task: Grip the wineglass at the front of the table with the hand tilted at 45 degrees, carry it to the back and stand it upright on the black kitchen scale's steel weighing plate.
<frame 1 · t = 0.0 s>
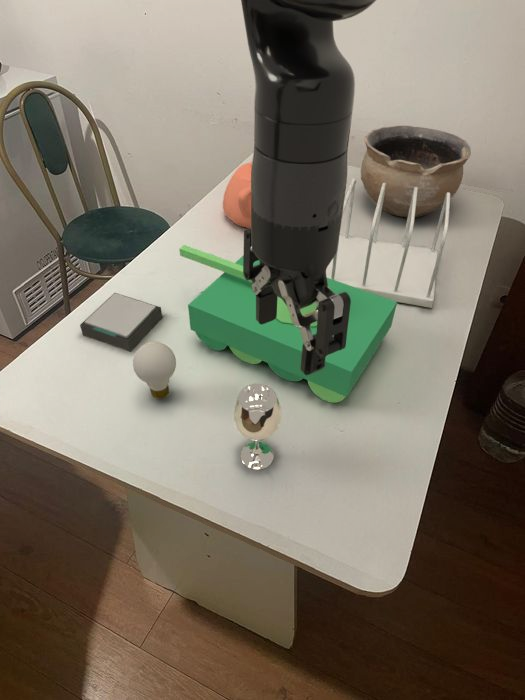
hand: (287, 344, 53), 22 cm above the table, tool pointing down, fingers open, 8 cm apart
wineglass: (257, 456, 69), on the table
toy tank: (270, 335, 87), on the table
teapot: (258, 215, 115), on the table
kitchen scale: (123, 325, 88), on the table
light bulb: (161, 396, 77), on the table
ceramic bowl: (402, 207, 119), on the table
file sorter: (367, 271, 100), on the table
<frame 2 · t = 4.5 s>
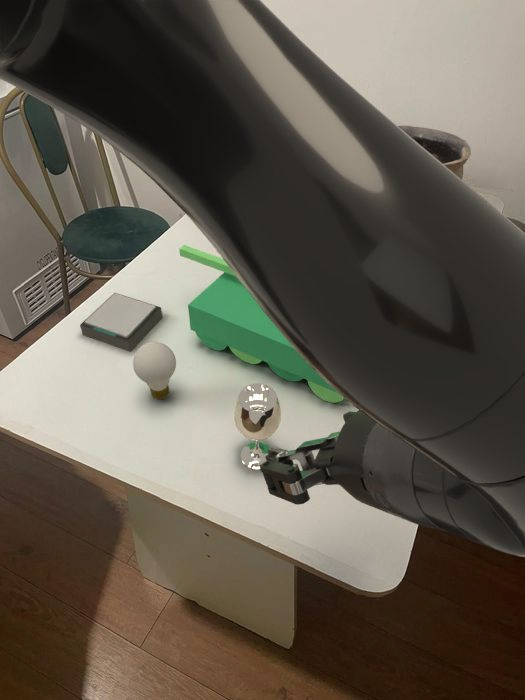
hand: (311, 440, 49), 18 cm above the table, tool tilted 45°, fingers open, 8 cm apart
nothing on the table moved.
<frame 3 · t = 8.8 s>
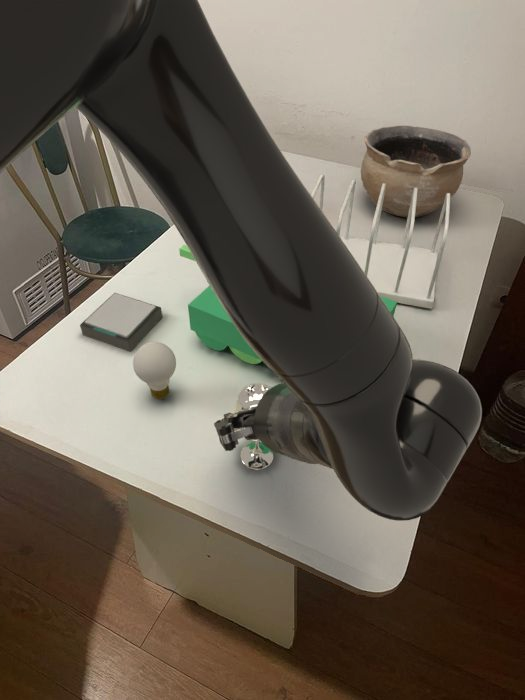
hand: (251, 412, 65), 7 cm above the table, tool tilted 45°, fingers closed on wineglass, 5 cm apart
wineglass: (257, 456, 69), on the table, touching gripper
everything else where it was.
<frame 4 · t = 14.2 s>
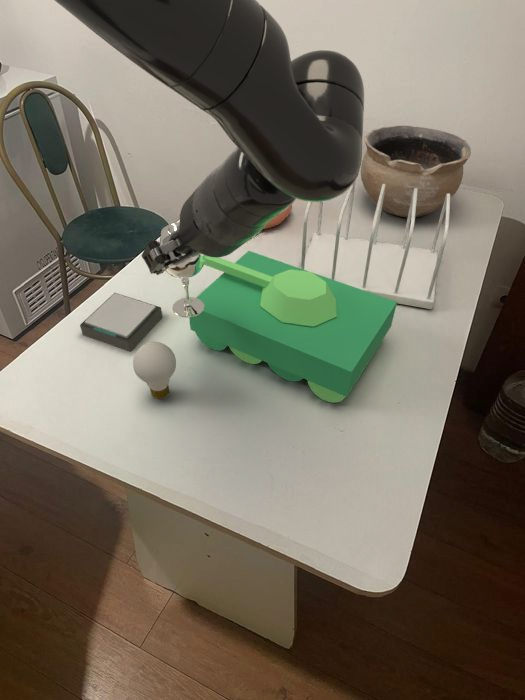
hand: (175, 258, 68), 20 cm above the table, tool tilted 45°, fingers closed on wineglass, 5 cm apart
wineglass: (188, 308, 72), point 12 cm above the table, touching gripper
everything else where it was.
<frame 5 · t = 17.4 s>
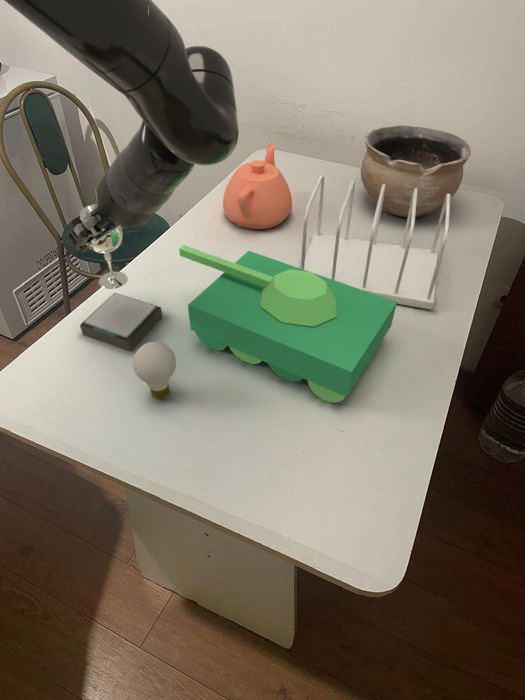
hand: (96, 236, 77), 17 cm above the table, tool tilted 45°, fingers closed on wineglass, 5 cm apart
wineglass: (113, 281, 81), point 9 cm above the table, touching gripper
everything else where it was.
when the fingers open (10 cm above the table, at t = 19.8 s): wineglass stays where it is, resting on kitchen scale.
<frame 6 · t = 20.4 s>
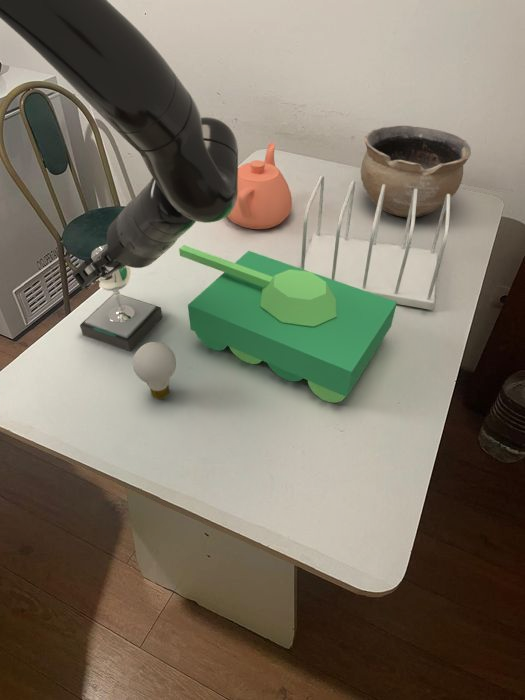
hand: (105, 270, 81), 11 cm above the table, tool tilted 45°, fingers open, 8 cm apart
wineglass: (121, 314, 86), point 3 cm above the table, touching kitchen scale
everything else where it was.
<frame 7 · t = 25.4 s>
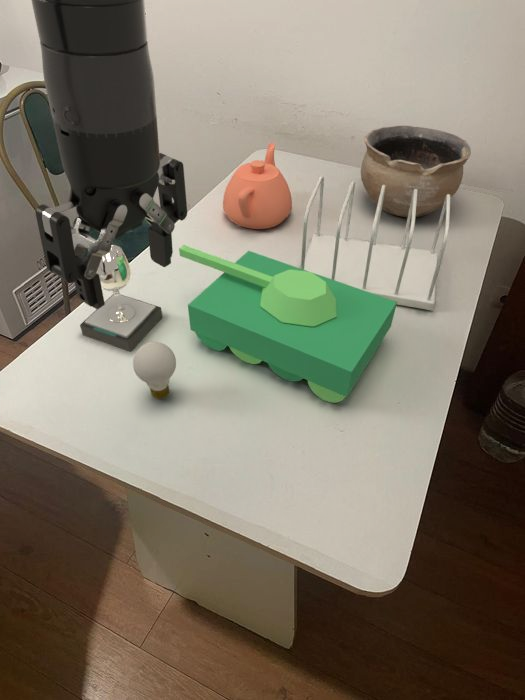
hand: (129, 282, 49), 29 cm above the table, tool pointing down, fingers open, 8 cm apart
nothing on the table moved.
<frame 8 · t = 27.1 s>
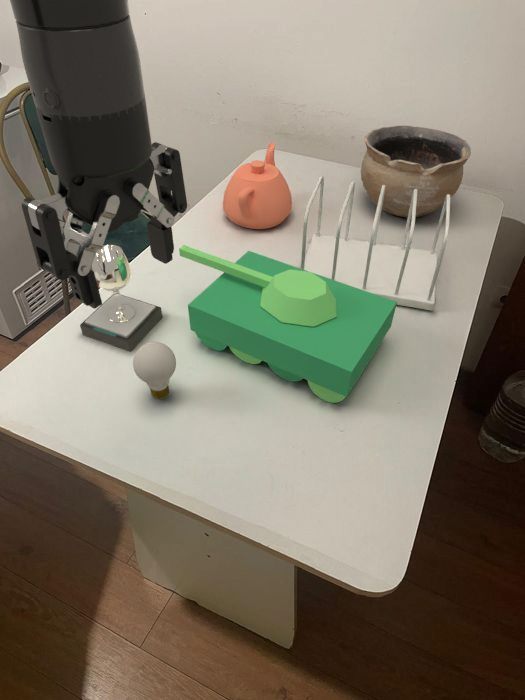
hand: (128, 280, 47), 30 cm above the table, tool pointing down, fingers open, 8 cm apart
nothing on the table moved.
at the end: wineglass inside the target area on the kitchen scale (0.1 cm from its centre), point 2.5 cm above the kitchen scale's base; wineglass tilted 0°; the gripper is holding nothing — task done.
